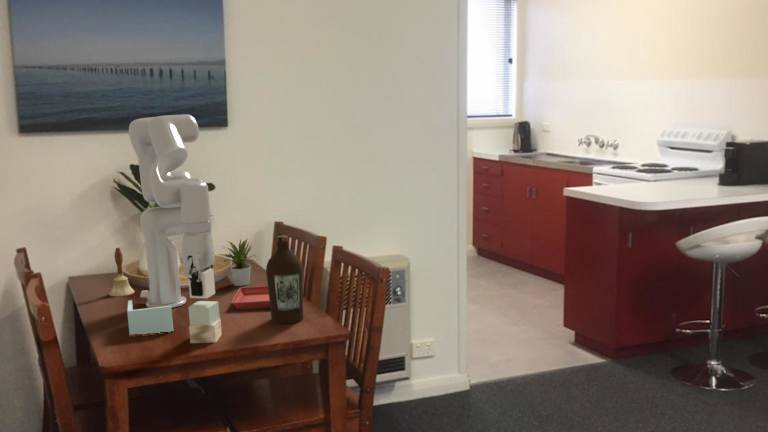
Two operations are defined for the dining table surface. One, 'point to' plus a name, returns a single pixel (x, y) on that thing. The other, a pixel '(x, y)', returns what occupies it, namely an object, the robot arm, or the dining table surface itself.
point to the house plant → (239, 263)
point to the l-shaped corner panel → (149, 319)
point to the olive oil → (285, 284)
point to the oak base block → (205, 333)
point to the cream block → (205, 283)
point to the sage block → (204, 313)
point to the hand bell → (120, 278)
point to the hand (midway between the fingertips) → (202, 292)
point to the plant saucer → (252, 298)
